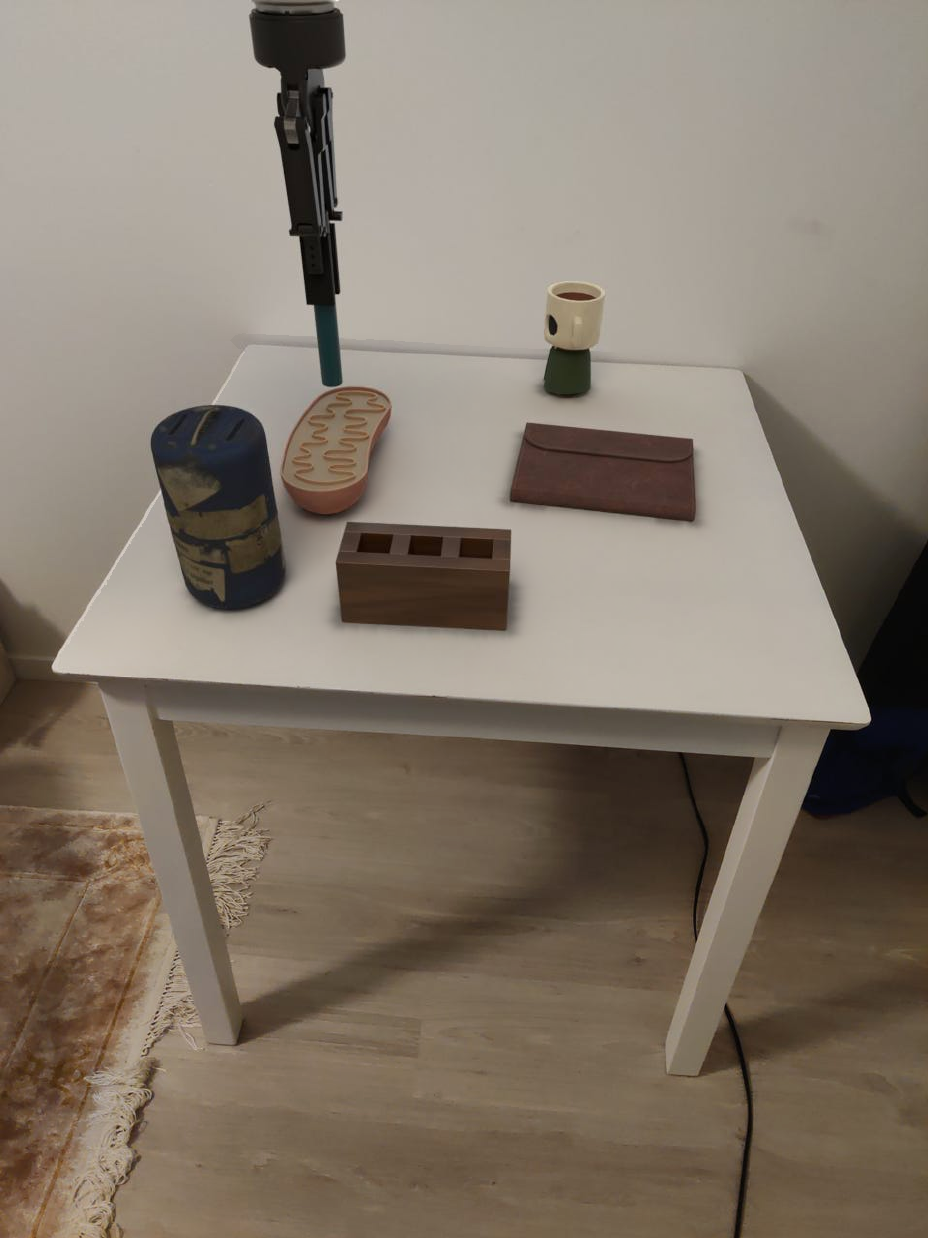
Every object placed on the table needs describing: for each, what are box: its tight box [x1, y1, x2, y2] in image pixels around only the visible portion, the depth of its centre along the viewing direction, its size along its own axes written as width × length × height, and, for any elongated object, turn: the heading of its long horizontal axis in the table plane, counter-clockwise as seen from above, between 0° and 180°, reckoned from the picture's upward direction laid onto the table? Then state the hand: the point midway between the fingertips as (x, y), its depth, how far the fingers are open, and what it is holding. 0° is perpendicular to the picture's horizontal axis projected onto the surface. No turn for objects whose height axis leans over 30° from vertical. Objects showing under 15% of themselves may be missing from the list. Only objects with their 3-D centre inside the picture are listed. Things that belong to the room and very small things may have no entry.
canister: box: [149, 404, 286, 610], centre depth 76 cm, size 10×10×18 cm
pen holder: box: [335, 521, 512, 632], centre depth 78 cm, size 6×15×7 cm, turn 87°
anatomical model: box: [279, 385, 392, 515], centre depth 96 cm, size 23×10×5 cm, turn 174°
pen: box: [313, 209, 344, 388], centre depth 84 cm, size 2×2×17 cm
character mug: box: [542, 280, 606, 395], centre depth 109 cm, size 11×7×13 cm, turn 0°
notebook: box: [509, 422, 697, 522], centre depth 97 cm, size 15×20×2 cm
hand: (323, 297), depth 84 cm, fingers closed on pen, 2 cm apart
